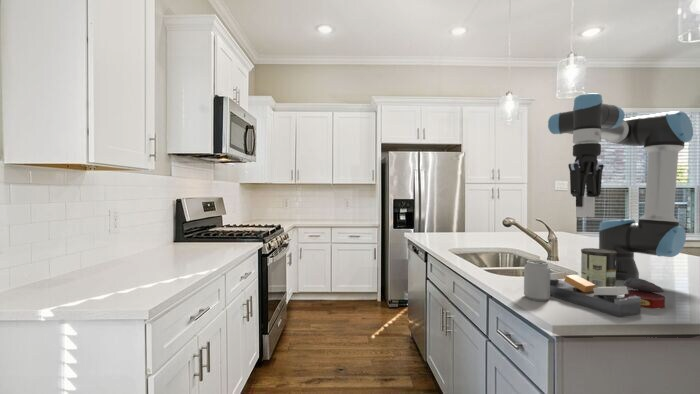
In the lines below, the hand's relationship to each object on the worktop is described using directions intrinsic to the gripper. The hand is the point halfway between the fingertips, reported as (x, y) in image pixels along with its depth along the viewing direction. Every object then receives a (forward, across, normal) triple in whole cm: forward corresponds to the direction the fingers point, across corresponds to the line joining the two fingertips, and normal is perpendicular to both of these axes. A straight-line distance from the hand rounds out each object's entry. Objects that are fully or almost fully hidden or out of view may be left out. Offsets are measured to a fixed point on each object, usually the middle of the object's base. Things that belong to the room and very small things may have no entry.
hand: (585, 217), depth 116 cm
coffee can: (+27, +15, +6) cm, 31 cm away
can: (+27, -13, +6) cm, 30 cm away
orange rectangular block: (+21, -2, 0) cm, 21 cm away
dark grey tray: (+27, -2, 0) cm, 27 cm away
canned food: (+27, +14, -10) cm, 32 cm away
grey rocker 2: (+21, -2, -10) cm, 23 cm away
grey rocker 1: (+21, -2, +10) cm, 23 cm away
